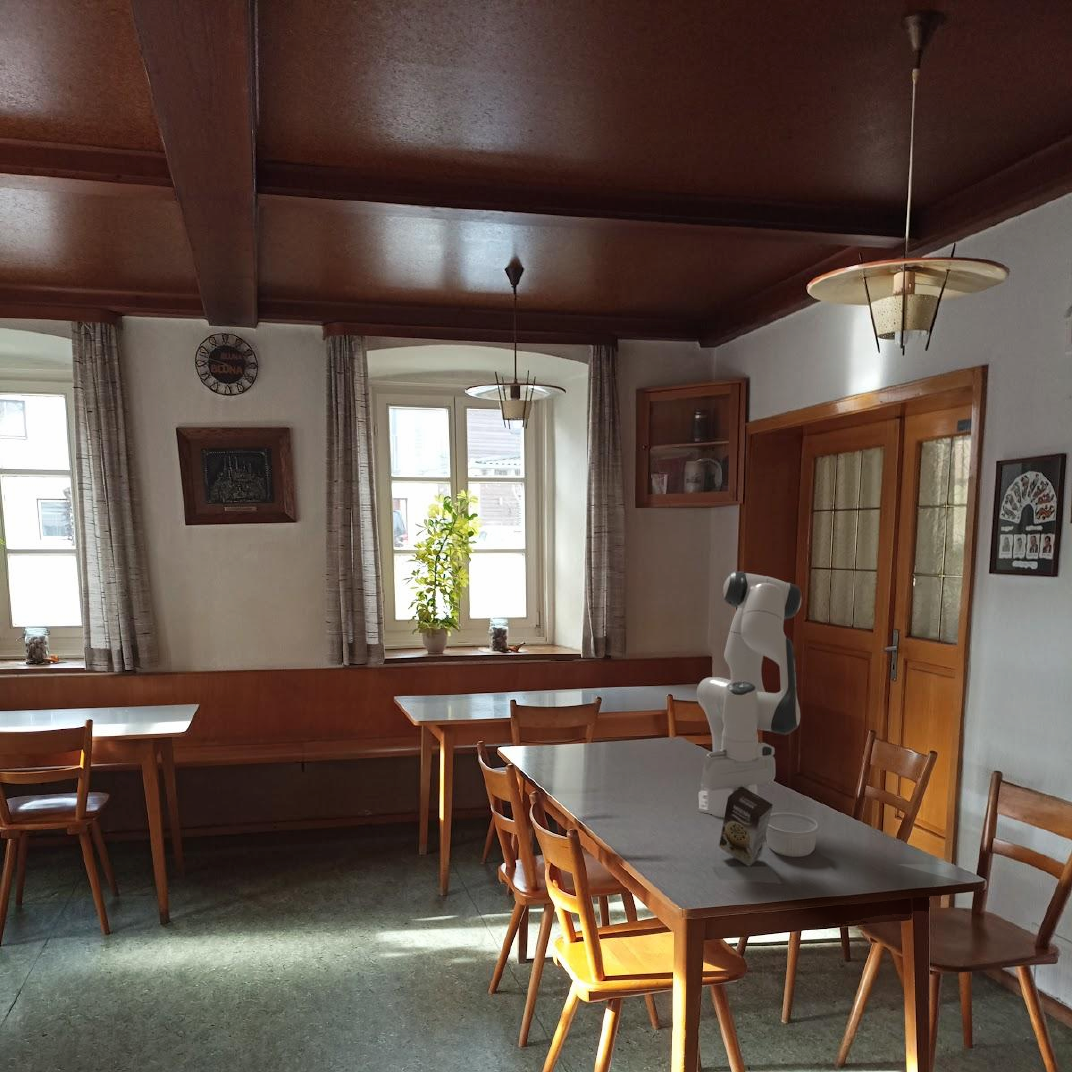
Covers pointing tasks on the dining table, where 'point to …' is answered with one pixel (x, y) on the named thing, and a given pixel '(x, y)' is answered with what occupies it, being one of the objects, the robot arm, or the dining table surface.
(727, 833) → the dark cardboard box
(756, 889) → the dining table surface
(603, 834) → the dining table surface
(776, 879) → the mat
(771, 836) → the ramekin
